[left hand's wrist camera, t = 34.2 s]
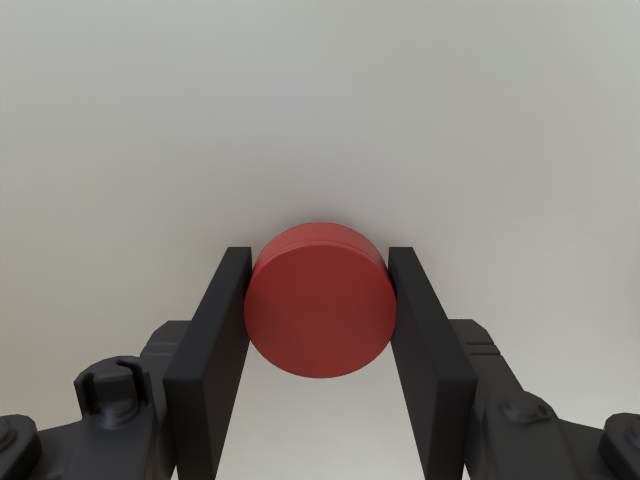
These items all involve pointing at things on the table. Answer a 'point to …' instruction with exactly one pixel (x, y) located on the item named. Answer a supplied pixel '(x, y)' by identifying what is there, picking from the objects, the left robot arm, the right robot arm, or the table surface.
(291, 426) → the table surface
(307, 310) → the cap
